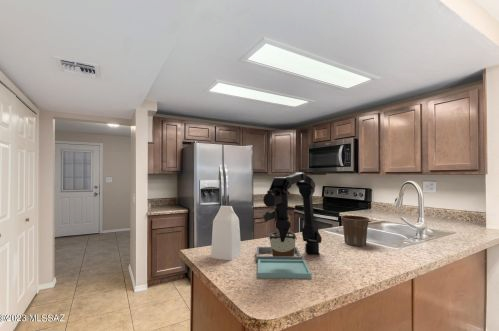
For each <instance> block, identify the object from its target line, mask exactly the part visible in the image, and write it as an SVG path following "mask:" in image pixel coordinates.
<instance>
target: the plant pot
mask: <svg viewBox="0 0 499 331" xmlns="http://www.w3.org/2000/svg"><path fill="white" fill-rule="evenodd" d="M340 218H341V223H342V228H343V238H344V240H343V241H344V243H345V244H346V245H347V246H352V247H353V246H356V247H365V246H366V245H367V237H368V226H369V222H370V217H367V216H364V215H363V216H362V215H349V214H348V215H342V216H341V217H340Z"/></svg>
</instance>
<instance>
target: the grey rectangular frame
mask: <svg viewBox="0 0 499 331" xmlns="http://www.w3.org/2000/svg"><path fill="white" fill-rule="evenodd" d="M255 253H256V254H255V262H256V263H255V264H258V259H270V260H303V255H302V254H301V251H300V249H299V247H298V246H295V252H294V254H295V255H294V257H273V256H272V255H260V254H272V249H271V246H257V247H256V252H255Z"/></svg>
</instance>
